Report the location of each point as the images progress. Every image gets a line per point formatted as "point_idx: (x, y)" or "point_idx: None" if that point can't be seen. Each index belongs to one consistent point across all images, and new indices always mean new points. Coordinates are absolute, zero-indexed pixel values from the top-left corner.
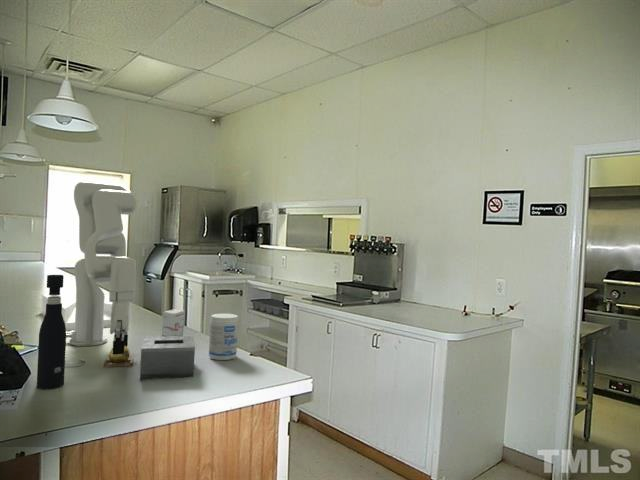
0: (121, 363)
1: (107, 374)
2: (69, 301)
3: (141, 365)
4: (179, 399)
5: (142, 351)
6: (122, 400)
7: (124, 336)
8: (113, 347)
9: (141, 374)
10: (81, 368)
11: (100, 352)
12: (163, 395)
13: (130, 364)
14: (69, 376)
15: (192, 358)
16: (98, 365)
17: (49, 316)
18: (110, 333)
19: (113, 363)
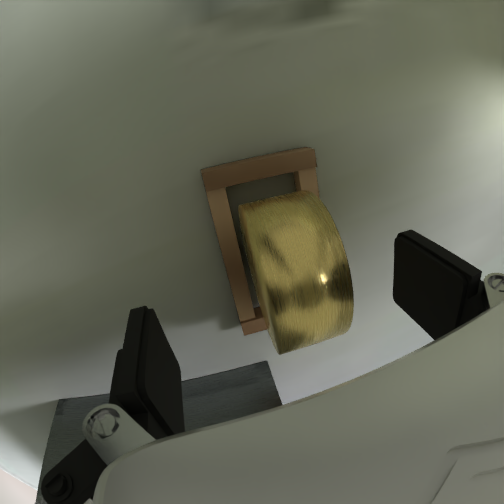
0: (234, 279)
1: (63, 260)
2: None
3: (49, 447)
4: (7, 462)
5: (41, 499)
6: None
7: (445, 328)
8: (124, 351)
9: (57, 418)
10: (156, 44)
11: (474, 76)
12: (3, 445)
13: (240, 320)
14: (4, 74)
15: None
16: (235, 122)
17: None
18: (124, 454)
19: (229, 231)
